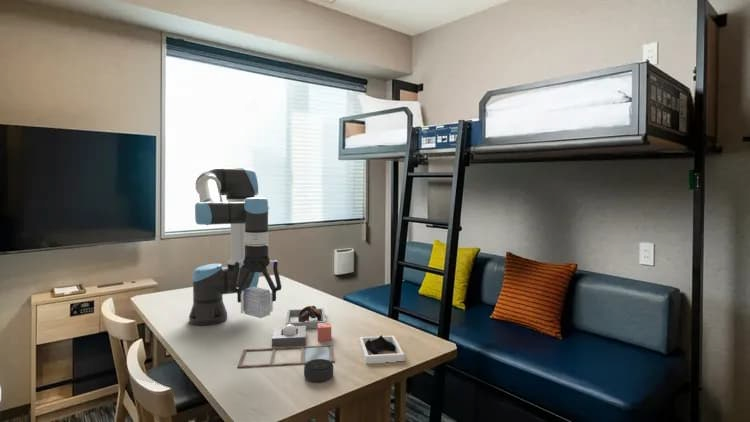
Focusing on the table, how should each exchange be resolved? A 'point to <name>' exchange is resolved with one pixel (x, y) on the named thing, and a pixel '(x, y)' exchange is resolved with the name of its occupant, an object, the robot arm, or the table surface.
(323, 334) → the die
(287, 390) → the table surface
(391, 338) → the controller tray rim
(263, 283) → the table surface
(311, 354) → the wooden window frame
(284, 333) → the dome
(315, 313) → the pottery mug
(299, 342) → the grey square holed block
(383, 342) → the gaming controller
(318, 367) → the smart speaker
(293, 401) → the table surface
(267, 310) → the medicine box
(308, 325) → the mug coaster rim
